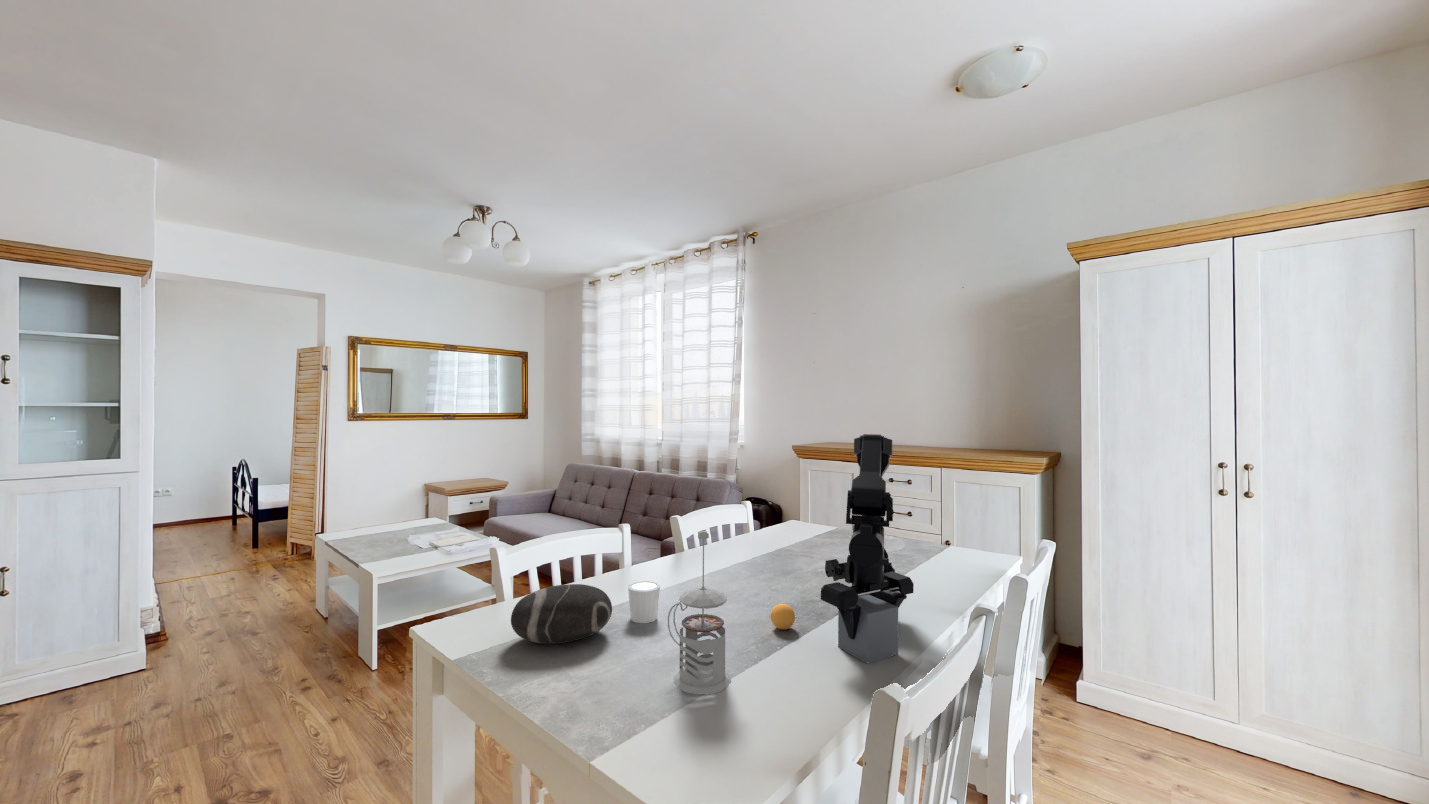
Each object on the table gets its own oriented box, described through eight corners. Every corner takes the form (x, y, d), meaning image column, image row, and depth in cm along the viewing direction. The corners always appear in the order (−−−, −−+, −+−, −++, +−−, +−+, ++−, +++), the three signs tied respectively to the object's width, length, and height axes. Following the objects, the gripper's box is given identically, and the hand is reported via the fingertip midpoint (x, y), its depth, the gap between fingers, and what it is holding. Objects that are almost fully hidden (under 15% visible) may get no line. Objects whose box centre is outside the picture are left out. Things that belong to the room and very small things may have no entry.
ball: (785, 622, 119) (785, 598, 119) (799, 630, 115) (800, 606, 115) (765, 626, 117) (766, 602, 117) (780, 635, 112) (780, 610, 112)
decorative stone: (513, 662, 100) (513, 606, 100) (508, 632, 113) (508, 582, 113) (619, 644, 108) (620, 592, 108) (603, 618, 121) (603, 571, 121)
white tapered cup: (654, 625, 117) (654, 592, 117) (623, 622, 118) (623, 589, 118) (663, 613, 124) (664, 581, 124) (634, 611, 125) (634, 579, 125)
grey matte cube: (867, 638, 111) (868, 594, 111) (897, 654, 104) (898, 606, 104) (838, 646, 107) (838, 600, 107) (867, 663, 101) (867, 614, 101)
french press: (711, 700, 88) (712, 540, 88) (652, 680, 94) (653, 531, 94) (742, 675, 96) (743, 528, 96) (686, 658, 102) (687, 521, 102)
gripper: (873, 537, 117) (872, 611, 117) (802, 548, 108) (801, 628, 108) (915, 549, 108) (915, 630, 108) (841, 562, 99) (841, 651, 99)
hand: (867, 634), depth 106 cm, fingers closed on grey matte cube, 8 cm apart
